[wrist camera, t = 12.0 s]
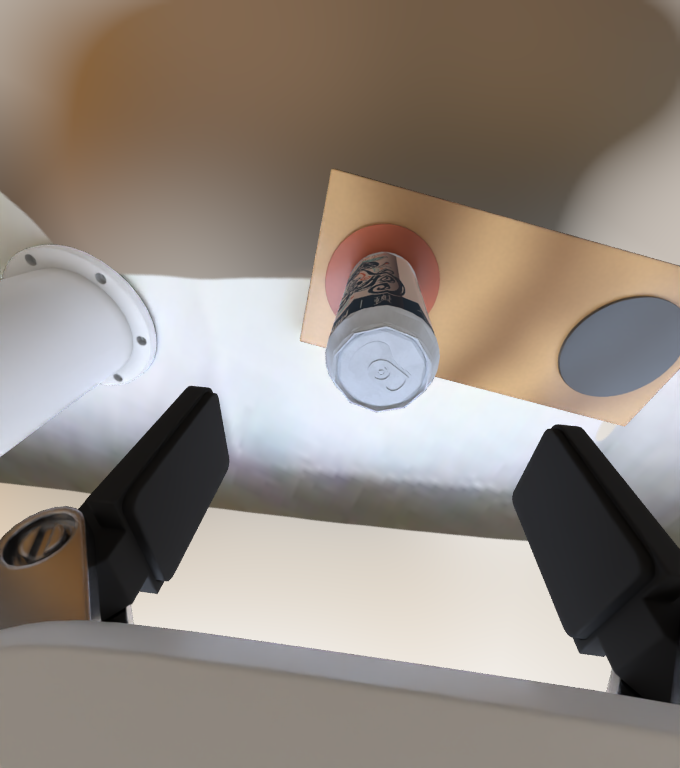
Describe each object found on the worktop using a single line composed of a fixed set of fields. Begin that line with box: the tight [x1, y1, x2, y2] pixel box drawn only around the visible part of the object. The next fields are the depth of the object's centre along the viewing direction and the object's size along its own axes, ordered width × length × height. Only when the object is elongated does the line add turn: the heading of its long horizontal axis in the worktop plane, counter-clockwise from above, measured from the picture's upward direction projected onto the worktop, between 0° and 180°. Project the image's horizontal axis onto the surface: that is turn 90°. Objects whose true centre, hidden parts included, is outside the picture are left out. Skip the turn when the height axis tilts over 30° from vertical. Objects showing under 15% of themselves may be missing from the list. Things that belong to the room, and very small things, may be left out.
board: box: [300, 169, 680, 426], centre depth 24 cm, size 28×12×2 cm, turn 77°
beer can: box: [325, 252, 440, 412], centre depth 18 cm, size 5×5×12 cm
